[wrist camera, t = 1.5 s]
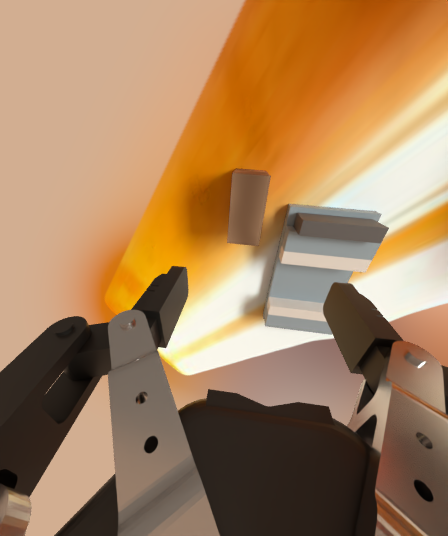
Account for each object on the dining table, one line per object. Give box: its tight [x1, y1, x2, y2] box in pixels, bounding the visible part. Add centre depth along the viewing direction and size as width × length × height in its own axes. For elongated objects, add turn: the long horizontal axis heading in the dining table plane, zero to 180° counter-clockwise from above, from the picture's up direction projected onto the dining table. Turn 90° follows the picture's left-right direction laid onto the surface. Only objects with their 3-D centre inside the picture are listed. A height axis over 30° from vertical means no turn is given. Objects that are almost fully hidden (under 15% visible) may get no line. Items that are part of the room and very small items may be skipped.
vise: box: [263, 204, 381, 335], centre depth 31 cm, size 22×12×4 cm, turn 176°
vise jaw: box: [279, 213, 389, 272], centre depth 26 cm, size 7×12×4 cm, turn 86°
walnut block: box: [227, 169, 271, 246], centre depth 25 cm, size 4×8×7 cm, turn 176°
